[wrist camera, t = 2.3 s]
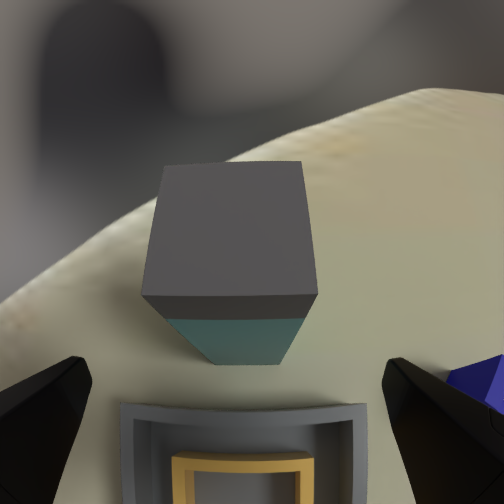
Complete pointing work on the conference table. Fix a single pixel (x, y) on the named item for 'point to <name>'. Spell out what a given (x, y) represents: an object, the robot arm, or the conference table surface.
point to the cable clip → (482, 382)
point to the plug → (232, 258)
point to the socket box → (243, 455)
